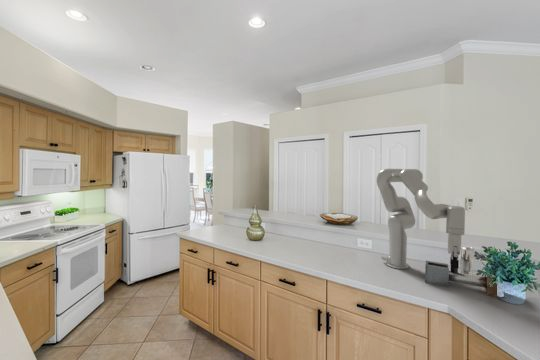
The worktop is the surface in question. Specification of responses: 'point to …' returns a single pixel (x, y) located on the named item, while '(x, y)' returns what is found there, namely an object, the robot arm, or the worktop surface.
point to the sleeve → (437, 273)
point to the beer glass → (466, 260)
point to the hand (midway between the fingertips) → (454, 266)
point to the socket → (491, 288)
